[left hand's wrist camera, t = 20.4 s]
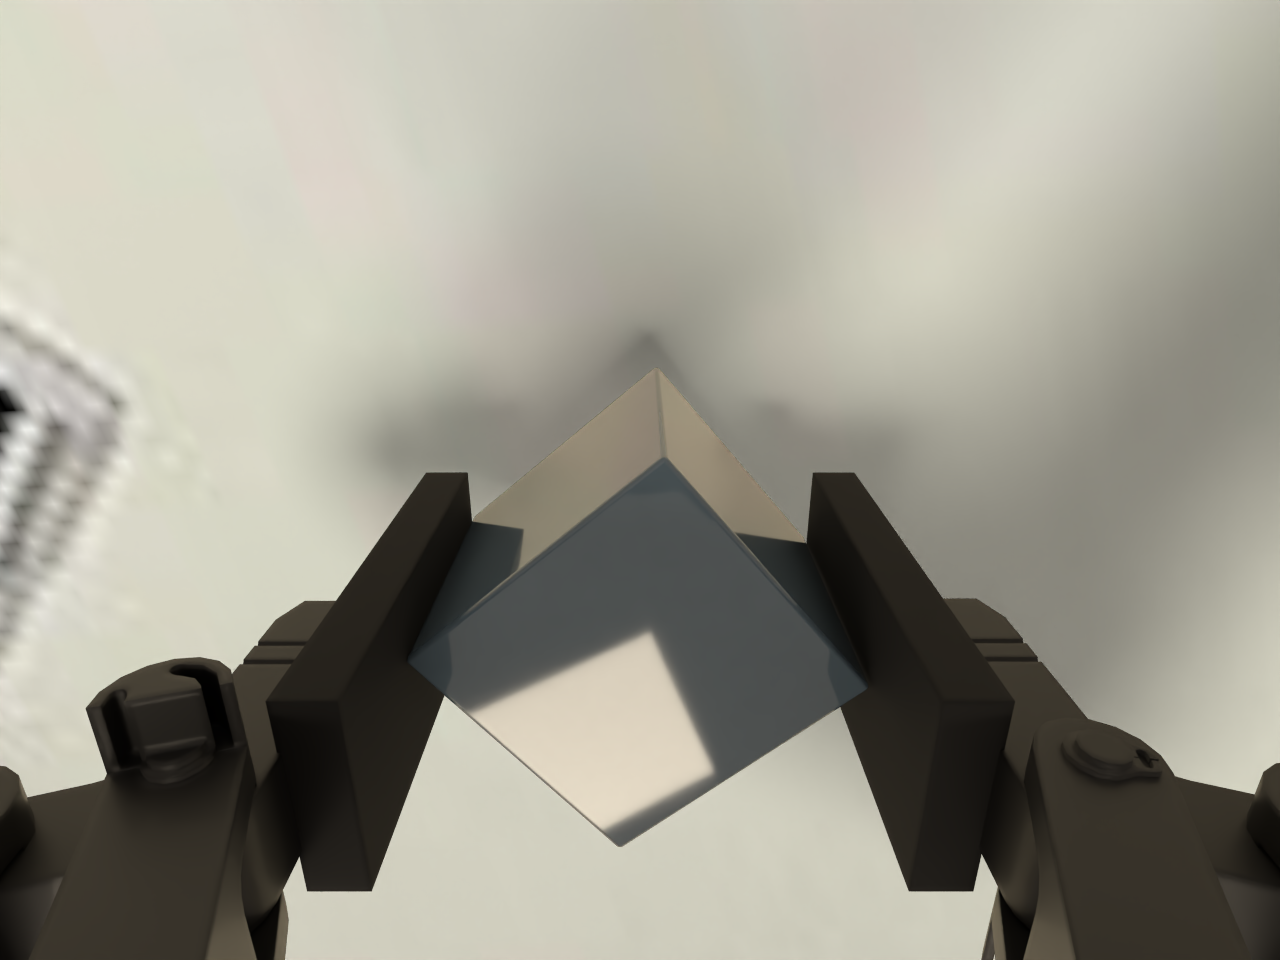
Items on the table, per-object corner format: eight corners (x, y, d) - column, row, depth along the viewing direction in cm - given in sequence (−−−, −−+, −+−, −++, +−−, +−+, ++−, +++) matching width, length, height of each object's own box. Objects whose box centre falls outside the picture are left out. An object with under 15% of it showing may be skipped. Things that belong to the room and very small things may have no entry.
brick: (656, 364, 14) (664, 456, 9) (804, 537, 15) (871, 689, 10) (472, 516, 15) (403, 662, 10) (624, 666, 16) (619, 851, 12)
